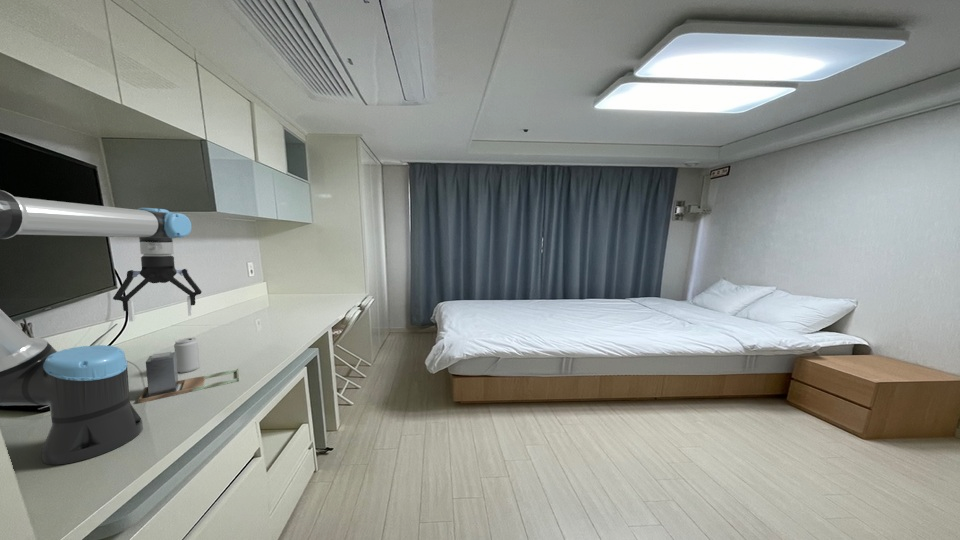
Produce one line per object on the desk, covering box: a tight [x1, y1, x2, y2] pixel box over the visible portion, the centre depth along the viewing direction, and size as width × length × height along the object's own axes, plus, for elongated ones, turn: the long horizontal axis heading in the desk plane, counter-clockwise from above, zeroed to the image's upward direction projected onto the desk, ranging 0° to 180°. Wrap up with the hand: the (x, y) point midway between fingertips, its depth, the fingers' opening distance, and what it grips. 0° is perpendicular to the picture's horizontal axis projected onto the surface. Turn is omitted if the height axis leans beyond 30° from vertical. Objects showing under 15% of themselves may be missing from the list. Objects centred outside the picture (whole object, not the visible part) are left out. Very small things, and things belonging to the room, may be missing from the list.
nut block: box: [145, 351, 180, 397], centre depth 97 cm, size 6×6×13 cm
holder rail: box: [137, 368, 240, 404], centre depth 102 cm, size 24×10×1 cm, turn 130°
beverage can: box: [173, 337, 200, 374], centre depth 114 cm, size 6×6×12 cm
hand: (162, 317), depth 101 cm, fingers open, 13 cm apart
